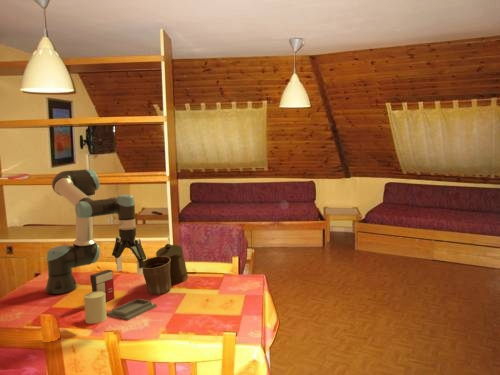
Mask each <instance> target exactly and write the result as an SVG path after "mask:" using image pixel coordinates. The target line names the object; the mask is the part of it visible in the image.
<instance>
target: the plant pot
mask: <svg viewBox="0 0 500 375" xmlns="http://www.w3.org/2000/svg"><path fill="white" fill-rule="evenodd" d="M161 257H165V258H164V260H162V259H161ZM170 261H171V259H170V258H169V257H166V256H158V257H157V256H152V257H149V258H147V259H146V260H143V274H142V275H143V278H144V282H145V286H146V289H147V292H148V294H150V295H157V296H158V295H162V294H167V293H168V291H171V289H172V284H171V278H170Z"/></svg>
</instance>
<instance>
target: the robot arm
mask: <svg viewBox="0 0 500 375" xmlns="http://www.w3.org/2000/svg"><path fill="white" fill-rule="evenodd" d="M51 188H52V190H53V192H55V194H56V195H58V196H60V197H61V196H62V197H63V198H64V199H65V200H67V201H68V202H69V203H70V204H71V205H72V206H74V210H75V211H74V212H75V240H74V241H73V243H72V244H73V245H72V246H70V244H61V245H57V246H53V247H51V248H50V249H48V250H47V251H46V252H47V253H46V262H47V272H48V273H47V274H48V278H47V281H46V286H45V293H47V294H50V295H57V294H64V293H68V292H72V291H74V290H75V289H77V281H76V280H75V277H74V275H73V271H72V270H73V269H74V268H79V267H83V266H89V265H92V264H95V263H97V261H99V258H100V255H101V254H100V253H101V250H100V246H99V244H98V242H96V239H94V238H93V237H94V236H93V235H94V233H93V227H94V226H93V218H95V217H101V216H108V215H117V217H118V218H117V220H118V228H119V230H118V234H119V235H118V237H115V243H114V245H113V250H112V253H111V256H112V257H114V259H115V264H116V272H117V273H118V272H122V271H123V257H122V254H123V253H124V251H125V249H129V250H130V251H131V252H132V254H134V257H135V258H136V259H137V261H136V272H137V273H136V275H137V276H138V277H139V276H141V275H143V261H144V260H146V259H148V258H147V255H146V253H145V251H144V249H143V246H142V243H141V238H138V239H136V236H137V229H136V227H137V226H136V224H137V223H136V209H135V207H136V205H135V197H134V195H133V194H119V195H118V196H117V197H115V196H114V197H108V198H104V199H103V198H102V199H93V197H94V196H96V191H97V190H98V191H99V189H100V179H99V176H98V174H97V172H96V171H95V170H93V169H86V168H85V169H73V170H63V171H60V172H59V173H57V174H56V175H55V176H54V177H53V179H52V182H51Z"/></svg>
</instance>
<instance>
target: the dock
mask: <svg viewBox="0 0 500 375" xmlns="http://www.w3.org/2000/svg"><path fill="white" fill-rule="evenodd" d="M155 308H157V304H156V303H153V302H152V300H147V299H143V298H136V299H134V300H130V301H129V302H127V303H124V304H122V305H121V304H120V305H119V306H116V307H115V308H113V309H111V310H109V311H106V315H107V316H111V317H115V318H119V319H122V320H126V321H131V320H132V319H134V318H136V317H138V316H139V315H143V314H144V313H146V312H149V311H151V310H153V309H155Z"/></svg>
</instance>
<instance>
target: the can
mask: <svg viewBox="0 0 500 375" xmlns="http://www.w3.org/2000/svg"><path fill="white" fill-rule="evenodd" d="M83 301H84V302H83V303H84V316H85V317H84V318H85V319H84V320H85V323H86V324H90V325H91V324H99V323H102V322H104V321H106V320H107V319H108V315H107V304H106V303H107V302H106V300H105V292H102V291H96V292H92V291H90V292H88V293H86V294H84V295H83Z"/></svg>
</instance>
